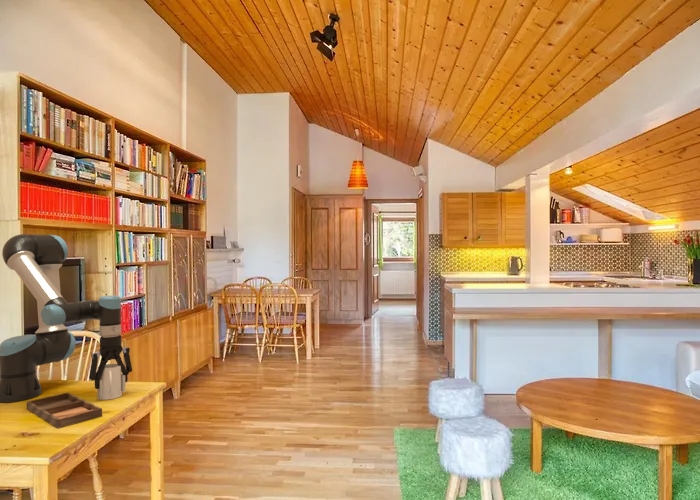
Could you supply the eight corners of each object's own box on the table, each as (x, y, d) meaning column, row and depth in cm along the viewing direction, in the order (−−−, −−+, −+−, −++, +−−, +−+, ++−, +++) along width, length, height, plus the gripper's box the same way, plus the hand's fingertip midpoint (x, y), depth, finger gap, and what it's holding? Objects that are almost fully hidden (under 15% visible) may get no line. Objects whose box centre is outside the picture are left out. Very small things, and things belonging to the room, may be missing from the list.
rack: (26, 408, 166) (26, 400, 166) (68, 399, 177) (68, 391, 177) (57, 428, 147) (57, 419, 147) (102, 416, 158) (102, 407, 158)
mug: (121, 400, 175) (121, 369, 175) (95, 403, 171) (95, 371, 171) (122, 392, 185) (122, 362, 185) (98, 395, 182) (98, 364, 182)
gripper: (85, 341, 168) (86, 403, 168) (141, 332, 184) (142, 389, 184) (77, 338, 173) (78, 399, 173) (132, 330, 189) (133, 385, 189)
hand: (111, 393), depth 179 cm, fingers closed on mug, 8 cm apart
